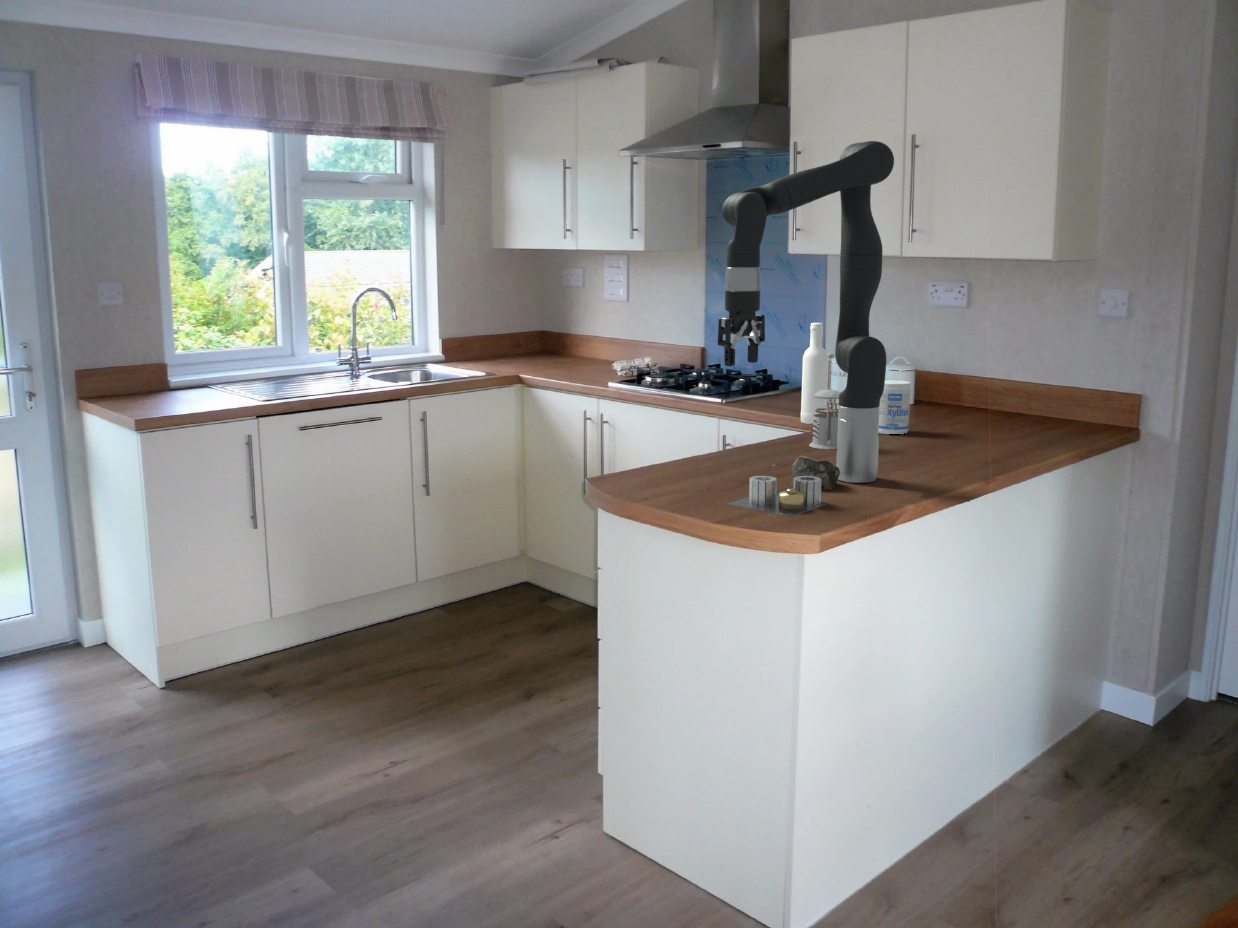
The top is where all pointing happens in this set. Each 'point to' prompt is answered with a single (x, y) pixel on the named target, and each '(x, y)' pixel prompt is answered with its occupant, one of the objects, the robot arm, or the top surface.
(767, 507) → the carrier
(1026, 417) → the top surface
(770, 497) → the planet gear
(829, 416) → the french press
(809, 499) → the grey hollow pipe
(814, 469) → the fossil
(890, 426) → the supplement tub
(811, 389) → the bottle
